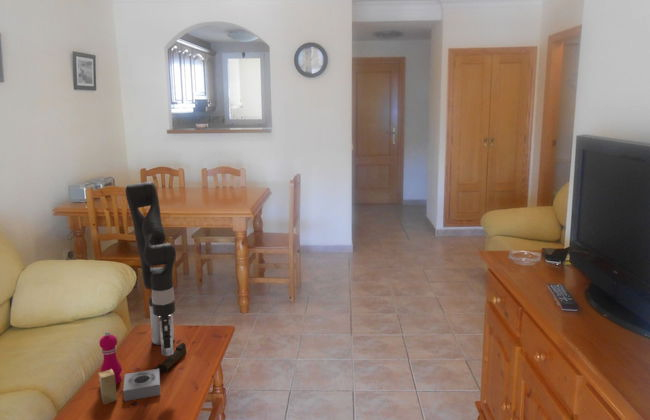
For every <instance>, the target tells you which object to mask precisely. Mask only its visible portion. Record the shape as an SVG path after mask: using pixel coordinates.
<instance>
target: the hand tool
mask: <svg viewBox="0 0 650 420" xmlns="http://www.w3.org/2000/svg"><path fill="white" fill-rule="evenodd" d="M173 351H174V353H173V354H172V355H170V356H167V358H166V359H165V360H164V361H162V362H161V363H160V364H157V369H159V373H160V374H167V373H168V371H169V369H170V368H171V367H172V366H173V365H174V364H176V362H178V360H179V359H182V358H183V357H184V356H185V353H187V347H186V343H185V342H182V343H180V344H178V345H177V346H176V347H175V350H173Z"/></svg>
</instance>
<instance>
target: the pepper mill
mask: <svg viewBox="0 0 650 420" xmlns="http://www.w3.org/2000/svg"><path fill="white" fill-rule="evenodd" d="M98 343H99V346H100V348H101V354H102V356H103V362H102V365H101V368H100V372H103V371H106V370H110V369H112V370H113V372H114V374H115V382H116V385H118V384H120V383H121V382H122V375H121V373H122V370H123V368H122V365H121V363H120V361H119V360H118V358H117V354H116V353H117V344H118V339H117V337H116V335H113V334H111V332H110V331H106V332H105V333H104V335H103V336H102V337H100V339H99V342H98Z"/></svg>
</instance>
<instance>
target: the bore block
mask: <svg viewBox="0 0 650 420" xmlns="http://www.w3.org/2000/svg"><path fill="white" fill-rule="evenodd" d="M160 374H161V373H159V369H158V368H155V369H148V370H142V371H136V372H130V373H125V374H124V377H123V378H124V380H123V389H122V392H123V402H129V401H134V400H139V399H146V398H150V397H157V396H161V375H160Z"/></svg>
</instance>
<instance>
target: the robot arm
mask: <svg viewBox="0 0 650 420" xmlns="http://www.w3.org/2000/svg"><path fill="white" fill-rule="evenodd" d="M158 195H159V194H158V190H157V186H156V185H155V183H154V182H153V181H144V182H138V183H132V184H129V185H127V186H125V196H126V201H127V204H128V208H129V211H130V212H129V213H130V215H131V219H132V224H133V230H134V236H135V242H136V246H137V251H138V255H139V260H140V264H141V271H142V272H141V273H142V281H143V285H144V288H145V289H147V290H150V291H151V296H150V297H149V299H148V306H149V316H150V328H151V340H152V344H154V345H157V346H161V336H160V327H161V332H162V333H163V340H164V348H165V349H166V348H170V347H171V345H170V337H171V336H170V331H171V326H172V338H173V342H174V340H175V329H174V327H175V326H174V315H173V314H174V313H175V312H176V301H175V290H174V284H173V283H174V282H173V269H174V264H175V260H176V256H177V250H176V248H175V246H174V245H173V244H171V243H170V242H169V243H165V242H166V233H165V230H164V226H163V224H162V217H161V208H160V202H159V201H160V200H159V196H158ZM145 207H149V208H148V209H149V210H148V212H147V213H146V215H145V216H144V214H143V213H142V211H141V210H140V208H145ZM162 265H163V266H162ZM156 266H162V267H156ZM166 334H169V335H166Z"/></svg>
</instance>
